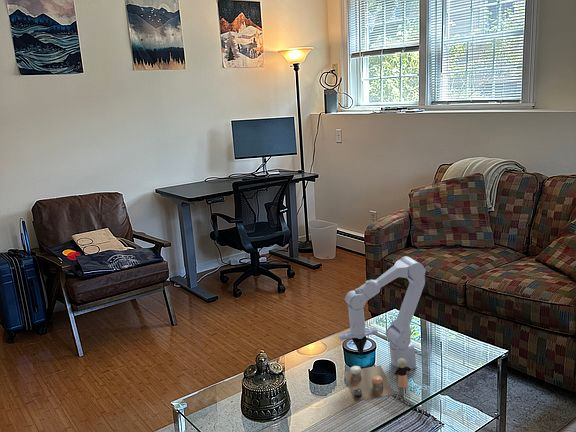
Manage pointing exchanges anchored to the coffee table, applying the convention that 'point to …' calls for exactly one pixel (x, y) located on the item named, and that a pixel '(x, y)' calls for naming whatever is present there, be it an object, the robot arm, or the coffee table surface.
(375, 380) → the knob near
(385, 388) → the beige rectangular board
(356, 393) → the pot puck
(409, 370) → the grandmother figurine
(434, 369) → the coffee table surface
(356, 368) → the knob far
